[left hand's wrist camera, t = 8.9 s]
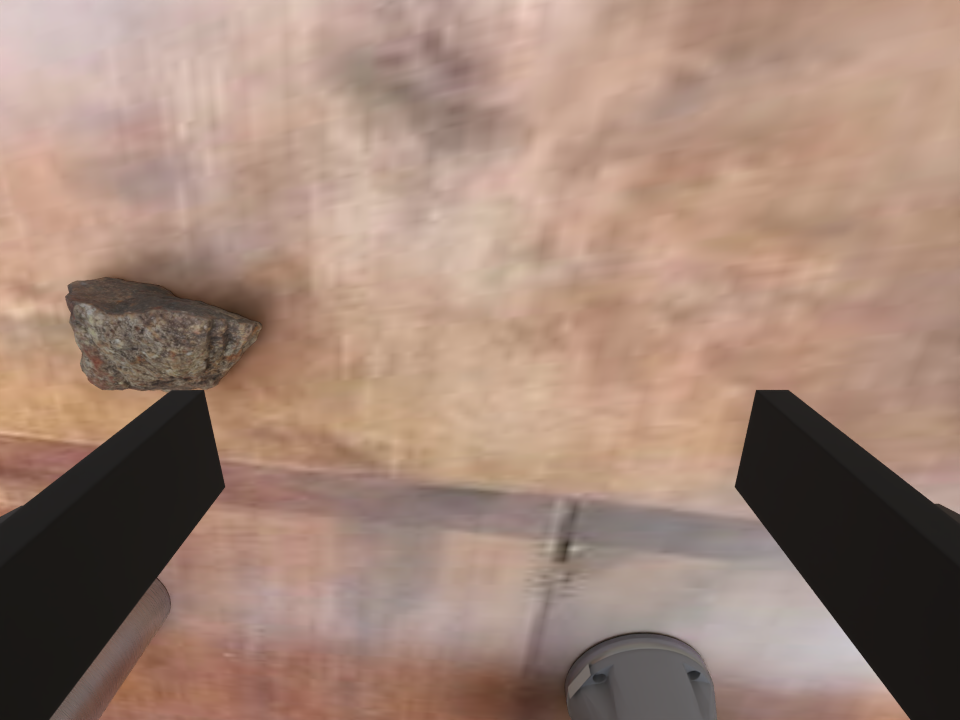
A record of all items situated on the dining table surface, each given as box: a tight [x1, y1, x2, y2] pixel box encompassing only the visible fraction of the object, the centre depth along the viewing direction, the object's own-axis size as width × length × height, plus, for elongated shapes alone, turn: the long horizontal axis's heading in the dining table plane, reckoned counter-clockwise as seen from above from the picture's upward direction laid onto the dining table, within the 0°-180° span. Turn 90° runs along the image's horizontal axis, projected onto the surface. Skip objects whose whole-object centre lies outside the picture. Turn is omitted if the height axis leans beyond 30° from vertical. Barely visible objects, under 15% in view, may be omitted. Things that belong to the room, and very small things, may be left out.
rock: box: [65, 277, 262, 392], centre depth 37 cm, size 14×9×10 cm
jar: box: [50, 578, 170, 720], centre depth 43 cm, size 9×9×19 cm
